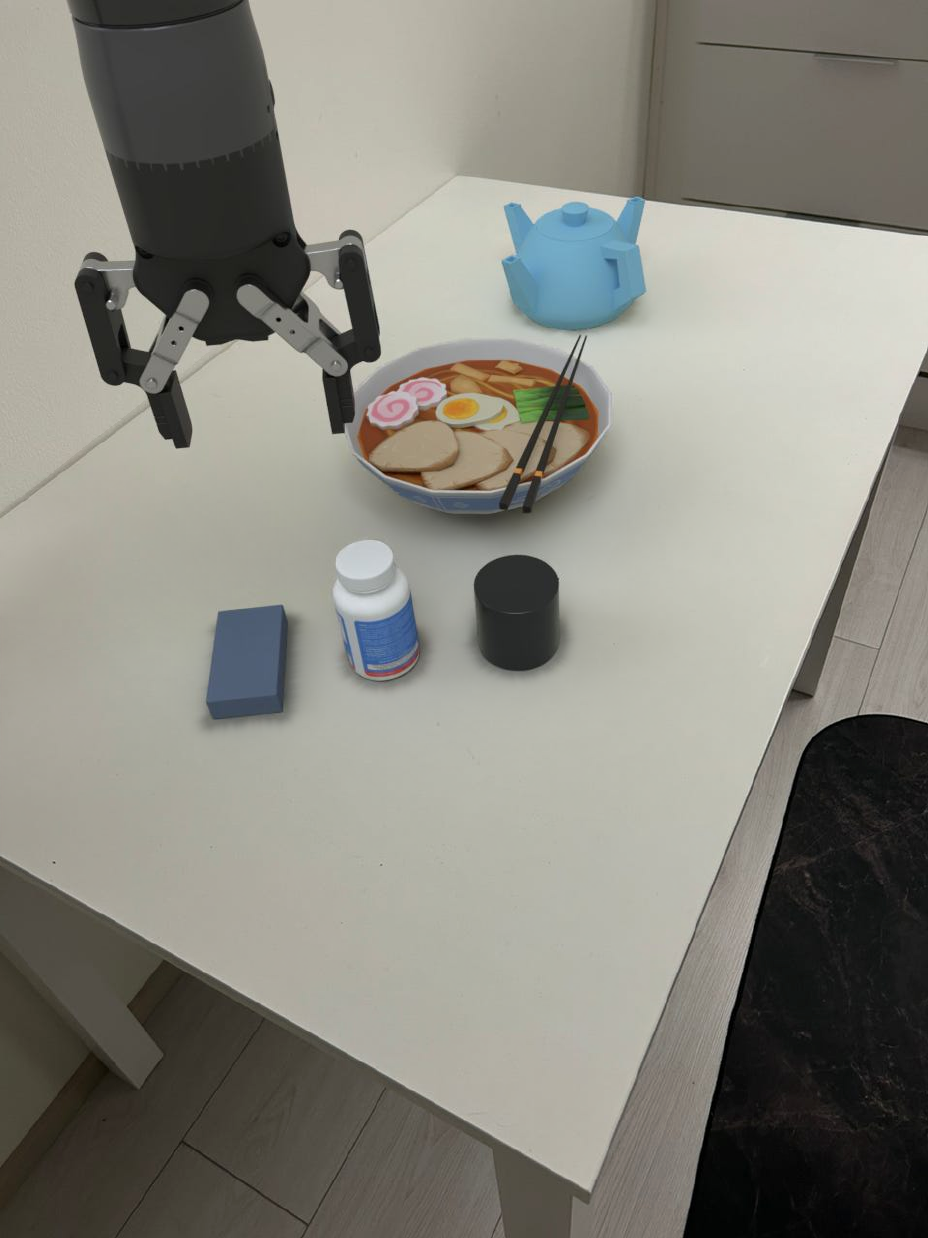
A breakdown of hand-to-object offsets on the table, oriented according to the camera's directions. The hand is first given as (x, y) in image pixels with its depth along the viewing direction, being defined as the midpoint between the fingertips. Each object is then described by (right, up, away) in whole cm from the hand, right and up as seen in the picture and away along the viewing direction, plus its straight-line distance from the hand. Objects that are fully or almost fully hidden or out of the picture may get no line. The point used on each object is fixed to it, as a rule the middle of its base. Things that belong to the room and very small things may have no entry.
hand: (262, 432), depth 54 cm
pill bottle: (+5, -13, +19) cm, 24 cm away
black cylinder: (+15, -12, +19) cm, 27 cm away
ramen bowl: (+13, +2, +33) cm, 35 cm away
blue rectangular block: (-5, -14, +19) cm, 24 cm away
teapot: (+23, +24, +53) cm, 63 cm away
